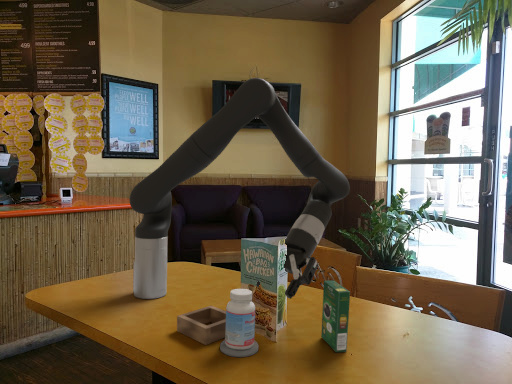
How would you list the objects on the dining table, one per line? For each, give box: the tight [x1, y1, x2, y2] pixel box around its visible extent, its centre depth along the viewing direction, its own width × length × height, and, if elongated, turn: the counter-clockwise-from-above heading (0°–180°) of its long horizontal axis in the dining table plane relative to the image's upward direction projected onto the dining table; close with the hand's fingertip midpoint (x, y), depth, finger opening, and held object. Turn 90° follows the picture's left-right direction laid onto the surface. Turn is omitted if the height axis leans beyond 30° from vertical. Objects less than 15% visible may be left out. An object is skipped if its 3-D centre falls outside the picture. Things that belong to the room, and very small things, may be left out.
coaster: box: [219, 339, 259, 358], centre depth 81 cm, size 8×8×1 cm
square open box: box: [176, 305, 226, 346], centre depth 89 cm, size 10×10×4 cm
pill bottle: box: [224, 288, 256, 350], centre depth 81 cm, size 6×6×11 cm
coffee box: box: [320, 280, 351, 353], centre depth 84 cm, size 8×3×13 cm, turn 13°
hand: (272, 292), depth 88 cm, fingers open, 8 cm apart
